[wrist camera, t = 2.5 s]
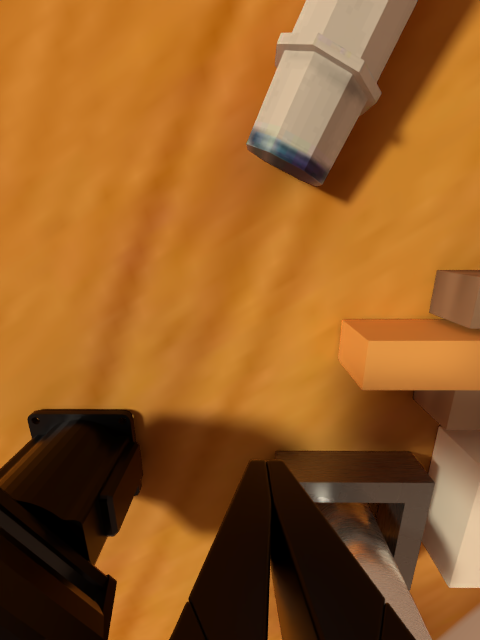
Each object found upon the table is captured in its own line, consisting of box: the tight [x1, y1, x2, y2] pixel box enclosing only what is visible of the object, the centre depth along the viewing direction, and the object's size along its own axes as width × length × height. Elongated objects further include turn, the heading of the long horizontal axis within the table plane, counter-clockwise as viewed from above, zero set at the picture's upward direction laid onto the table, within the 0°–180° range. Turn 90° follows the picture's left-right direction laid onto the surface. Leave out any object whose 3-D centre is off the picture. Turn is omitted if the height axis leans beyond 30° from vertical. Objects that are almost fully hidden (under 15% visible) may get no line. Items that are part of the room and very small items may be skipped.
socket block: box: [275, 451, 435, 590], centre depth 19 cm, size 9×9×2 cm
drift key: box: [338, 319, 480, 390], centre depth 15 cm, size 7×2×4 cm, turn 90°
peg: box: [314, 502, 432, 640], centre depth 16 cm, size 4×4×8 cm
